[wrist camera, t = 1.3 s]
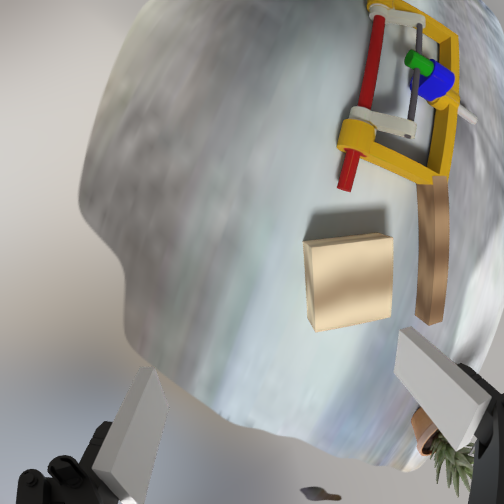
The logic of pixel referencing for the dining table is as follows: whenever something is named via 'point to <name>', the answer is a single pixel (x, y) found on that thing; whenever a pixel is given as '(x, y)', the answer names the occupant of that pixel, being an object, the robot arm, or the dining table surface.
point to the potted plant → (442, 450)
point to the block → (348, 280)
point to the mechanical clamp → (423, 84)
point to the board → (432, 249)
